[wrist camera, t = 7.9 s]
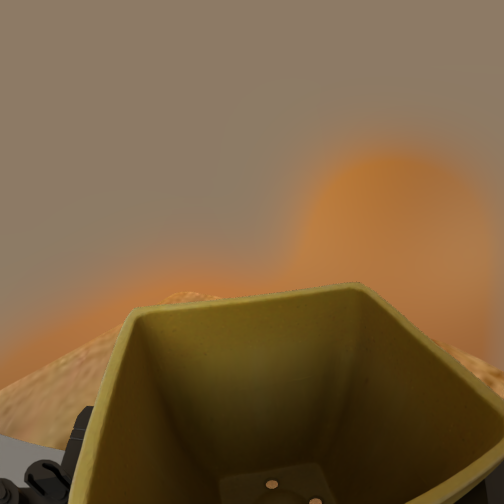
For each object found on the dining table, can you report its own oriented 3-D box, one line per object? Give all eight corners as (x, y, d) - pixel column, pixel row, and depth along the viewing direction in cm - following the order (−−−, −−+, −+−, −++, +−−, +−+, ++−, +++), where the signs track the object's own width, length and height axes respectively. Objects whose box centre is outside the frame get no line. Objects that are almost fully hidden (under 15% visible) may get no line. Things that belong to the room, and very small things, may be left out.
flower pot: (176, 450, 13) (128, 302, 10) (336, 425, 14) (361, 276, 11) (186, 599, 4) (55, 554, 2) (404, 550, 6) (536, 426, 3)
